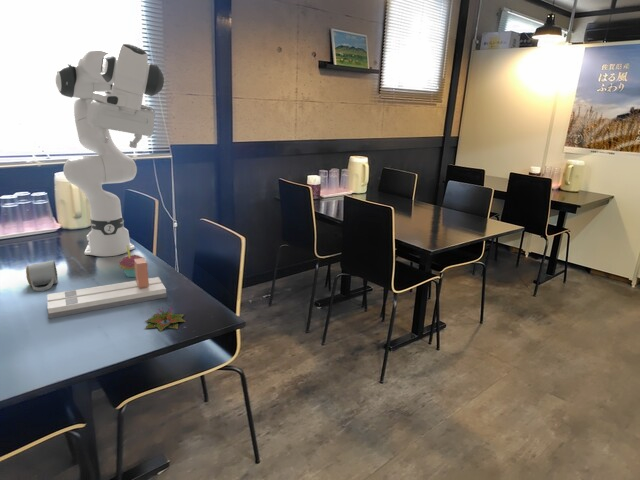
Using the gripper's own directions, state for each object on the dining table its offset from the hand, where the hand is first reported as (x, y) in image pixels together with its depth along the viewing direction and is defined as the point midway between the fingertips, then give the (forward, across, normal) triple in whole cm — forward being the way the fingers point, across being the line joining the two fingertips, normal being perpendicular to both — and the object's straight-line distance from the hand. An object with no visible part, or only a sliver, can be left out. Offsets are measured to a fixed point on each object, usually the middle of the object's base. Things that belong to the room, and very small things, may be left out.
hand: (118, 145), depth 135 cm
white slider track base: (+46, +4, +16) cm, 49 cm away
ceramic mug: (+52, +12, -9) cm, 54 cm away
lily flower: (+42, +1, +41) cm, 58 cm away
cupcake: (+45, -12, +2) cm, 47 cm away
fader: (+42, -5, +20) cm, 46 cm away
